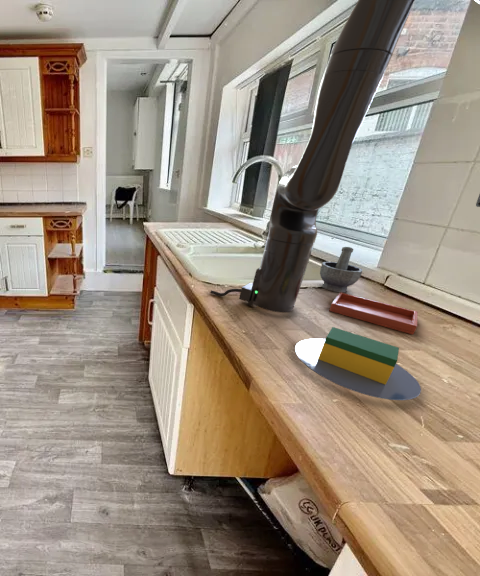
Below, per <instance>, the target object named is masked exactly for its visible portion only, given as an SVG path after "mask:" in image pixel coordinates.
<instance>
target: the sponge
mask: <svg viewBox="0 0 480 576" xmlns="http://www.w3.org/2000/svg"><path fill="white" fill-rule="evenodd" d="M324 339H325V342H324V344H323V347H322V350H321V352H320V355H319V358H318V359H319V360H322V361H324V362H327V363H330V364H332V365H335V366H338V367H340V368H343V369H346V370H348V371H351V372H353V373H356V374H359V375H361V376H364V377H367V378H369V379H372V380H374V381H377V382H380V383H382V384H386V383H387V381H388V379H389V377H390V375H391V373H392V371H393V369H394V367H395V365H396V364H397V363H398V359H399V350H400V347H398V346H395V345H392V344H388V343H385V342H382V341H379V340H376V339H373V338H370V337H367V336H363V335H360V334H356V333H353V332H351V331H347V330H344V329H341V328H337V327H335V326H332V327H331V329H330V330H329V332H328V333H327V335H326V337H325V338H324Z"/></svg>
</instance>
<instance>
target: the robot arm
mask: <svg viewBox="0 0 480 576" xmlns="http://www.w3.org/2000/svg"><path fill="white" fill-rule="evenodd" d="M415 1H416V0H358V1H357V2H356V4H355V6H354V8H352V11H351V13H350V14H349V16H348V19H347V20H346V22H345V24H344V26H343V28H342V29H341V31H340V34H339V35H338V37H337V40H336V41H335V43H334V45H333V48H332V50H331V52H330V55H329V58H328V60H327V63H326V65H325V68H324V71H323V74H322V77H321V79H320V83H319V86H318V89H317V93H316V100H315V104H314V105H315V106H314V114H313V123H312V127H311V128H312V129H311V133H310V137H309V139H308V142H307V144H306V147H305V148H304V151H303V153H302V156H301V158H300V160H299V161H298V164H297V165H295V166H293V167H291V168H289V169H288V170H287V171H286V172H285V173H284V174H283V175H282V176H281V178H280V180H279V182H278V184H277V187H276V191H275V195H274V198H273V203H272V208H271V212H270V216H269V222H268V225H269V228H268V234H267V238H266V242H265V246H264V250H263V253H262V257H261V261H260V264H259V267H258V268H256V270H255V273H254V277H253V281H252V282H248V283H247V284H245V285H243V286H242V287H241V288H230V289H227V290H226V291H224V292H218V291H215V290H212V289H211V290H210V294H213V295H214V296H218V297H225V296H227V295H228V294H230V293H239V297H238V300H241V301H245V302H247V306H249V307H252V308H253V309H255V308H257V307H258V308H261V309H264V310H267V311H270V312H277V313H290V312H293V311H294V308H295V305H296V302H297V299H298V295H299V293H300V290H301V286H302V283H303V280H304V277H305V274H306V271H307V268H308V264H309V261H310V258H311V256H312V252H313V249H314V245H315V242H316V239H317V236H318V228H317V215H318V213H319V212H318V211H319V209H321V208H323V207H325V206H326V205H327V204H328V203H330V202H331V200H332V199H333V198H334V197H335V195H336V194H337V191H338V189H339V187H340V184H341V181H342V178H343V174H344V171H345V168H346V165H347V161H348V159H349V156H350V152H351V149H352V147H353V144H354V141H355V138H356V137H357V134H358V132H359V130H360V127H362V124H363V121H364V119H365V117H366V115H367V112H368V111H369V108H370V106H371V104H372V102H373V99H374V97H375V95H376V93H377V91H378V88H379V86H380V84H381V82H382V81H383V78H384V76H385V74H386V71H387V68H388V66H389V64H390V62H391V60H392V57H393V55H394V52H395V50H396V47H397V45H398V42H399V39H400V38H401V34H402V33H403V30H404V27H405V25H406V23H407V21H408V18H409V16H410V13H411V11H412V8H413V6H414V4H415ZM474 1H475V2H476V3H477V4H479V5H480V0H474ZM475 207H477V208H480V193H479V195H478V198H477V199H476V202H475Z"/></svg>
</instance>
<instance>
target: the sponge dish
mask: <svg viewBox="0 0 480 576" xmlns="http://www.w3.org/2000/svg"><path fill="white" fill-rule="evenodd" d="M328 311H329V312H332V313H335V314H339V315H343V316H346V317H350V318H353V319H356V320H360V321H364V322H367V323H371V324H374V325H378V326H381V327H383V328H384V327H385V328H388V329H392V330H394V331H399V332H402V333H406V334H409V335H414V334H415V332H416V330H417V328H418V313H419V312H418V311H417V310H413V309H408V308H404V307H401V306H397V305H392V304H388V303H385V302H381V301H377V300H374V299H369V298H366V297H365V298H364V297H360V296H357V295H353V294H350V293H349V294H348V293H346V292H338V294H337V296H336V297H335V298H334V300H333V301H332V302H331V305H330V307H329V310H328Z"/></svg>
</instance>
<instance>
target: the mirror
mask: <svg viewBox="0 0 480 576" xmlns="http://www.w3.org/2000/svg"><path fill="white" fill-rule="evenodd" d="M325 339H326V338H307V339H303V340H300V341H298V342H297V343H296V344H295V346H294V352H295V354H296V357H298V359H299V360H300V361H301V362H302V363H303V364H304V365H305V366H306V367H307V368H308V369H310V370H311V371H313V372H314V373H315V374H317V375H319V376H321V377H322V378H324V379H325V380H328V381H329V382H332V383H333V384H336V385H338V386H340V387H342V388H345V389H347V390H350V391H353V392H356V393H359V394H361V395H364V396H365V395H366V396H369V397H373V398H378V399H384V400H390V401H409V400H413V399H416V398H418V397H419V396H420V394H421V392H422V387H421V385H420V383H419V381H418V380H417V379H416V377H414V376H413V375H412V374H411V373H410V372H409V371H407V369H405V368H403V367H402V366H400V365H399V364H397V363H396V365H395V367H394V369H393V371H392V373H391V375H390V377H389V379H388V381H387V383H386V384H382V383H380V382H377V381H374V380H372V379H369V378H367V377H364V376H361V375H359V374H356V373H353V372H351V371H348V370H346V369H343V368H340V367H338V366H335V365H332V364H330V363H327V362H324V361H322V360H319V359H318V358H319V355H320V352H321V350H322V347H323V344H324V342H325Z"/></svg>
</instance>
